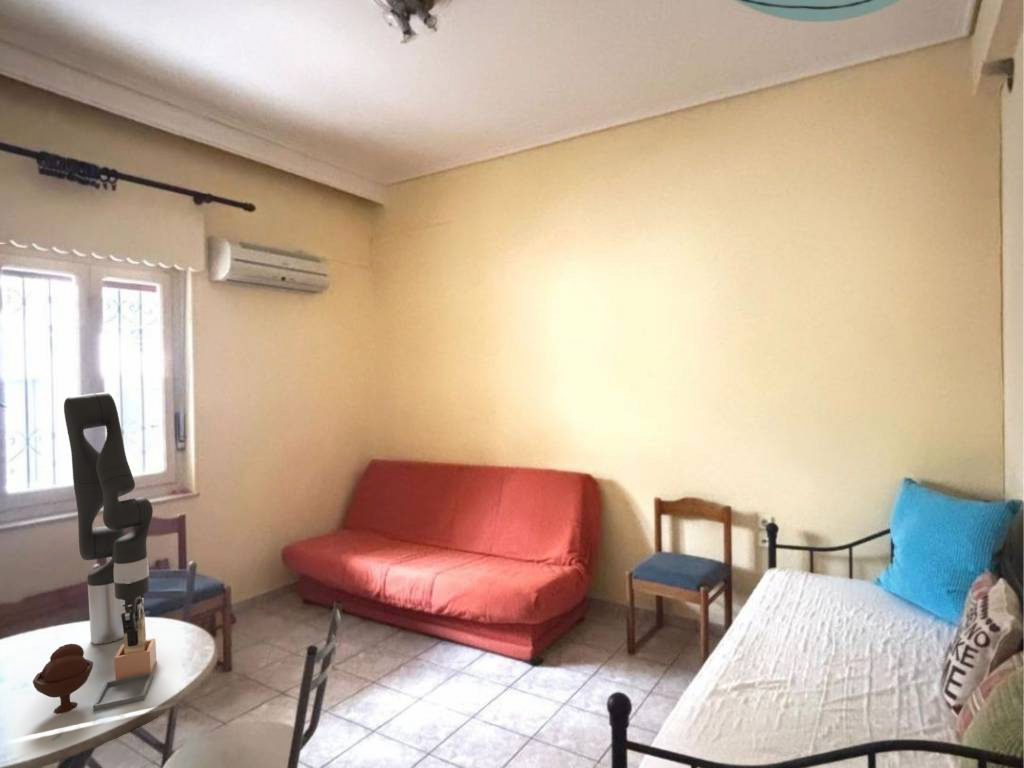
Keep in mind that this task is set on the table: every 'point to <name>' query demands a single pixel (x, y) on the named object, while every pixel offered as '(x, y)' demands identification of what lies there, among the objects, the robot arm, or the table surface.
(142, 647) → the birch peg
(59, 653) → the ice cream bowl
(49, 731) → the table surface
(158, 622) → the table surface
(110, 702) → the grey square tray
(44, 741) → the table surface
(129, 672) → the orange open box
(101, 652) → the table surface
